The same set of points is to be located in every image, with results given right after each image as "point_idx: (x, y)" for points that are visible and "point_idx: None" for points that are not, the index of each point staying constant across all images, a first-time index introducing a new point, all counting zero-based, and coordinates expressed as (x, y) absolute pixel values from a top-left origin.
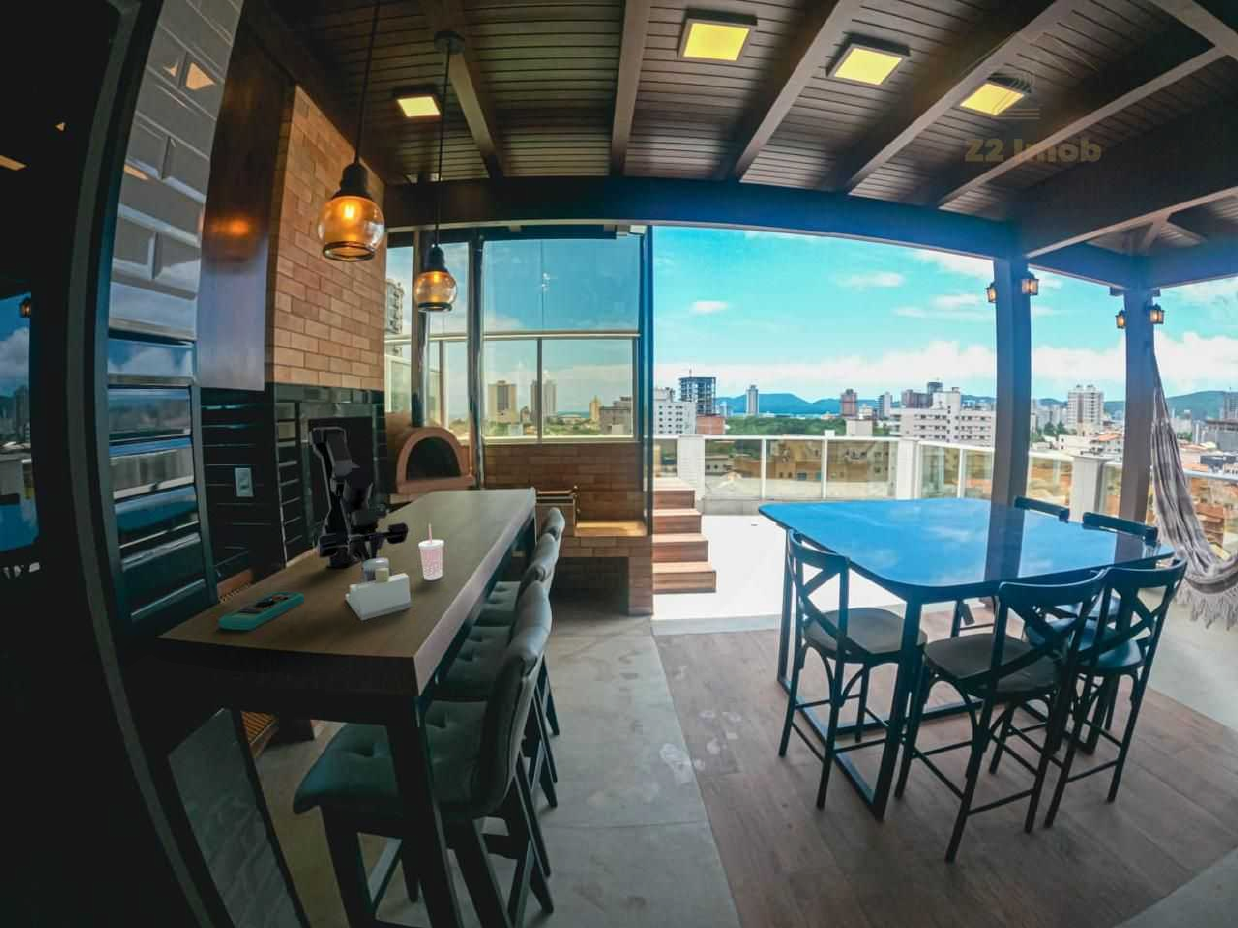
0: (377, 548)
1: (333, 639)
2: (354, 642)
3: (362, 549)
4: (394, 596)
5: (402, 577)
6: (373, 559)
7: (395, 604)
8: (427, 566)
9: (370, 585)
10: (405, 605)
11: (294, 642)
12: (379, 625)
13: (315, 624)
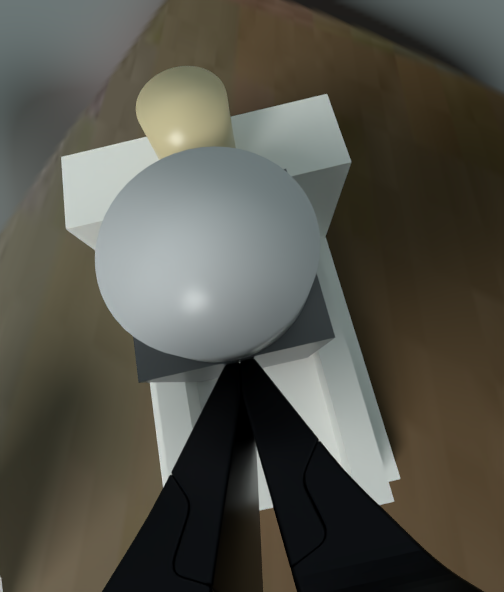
0: (124, 559)
1: (382, 102)
2: (320, 64)
3: (357, 547)
4: None
5: (94, 160)
6: (221, 315)
7: None
8: None
9: (267, 112)
10: None
11: (500, 127)
12: None
13: (468, 238)
